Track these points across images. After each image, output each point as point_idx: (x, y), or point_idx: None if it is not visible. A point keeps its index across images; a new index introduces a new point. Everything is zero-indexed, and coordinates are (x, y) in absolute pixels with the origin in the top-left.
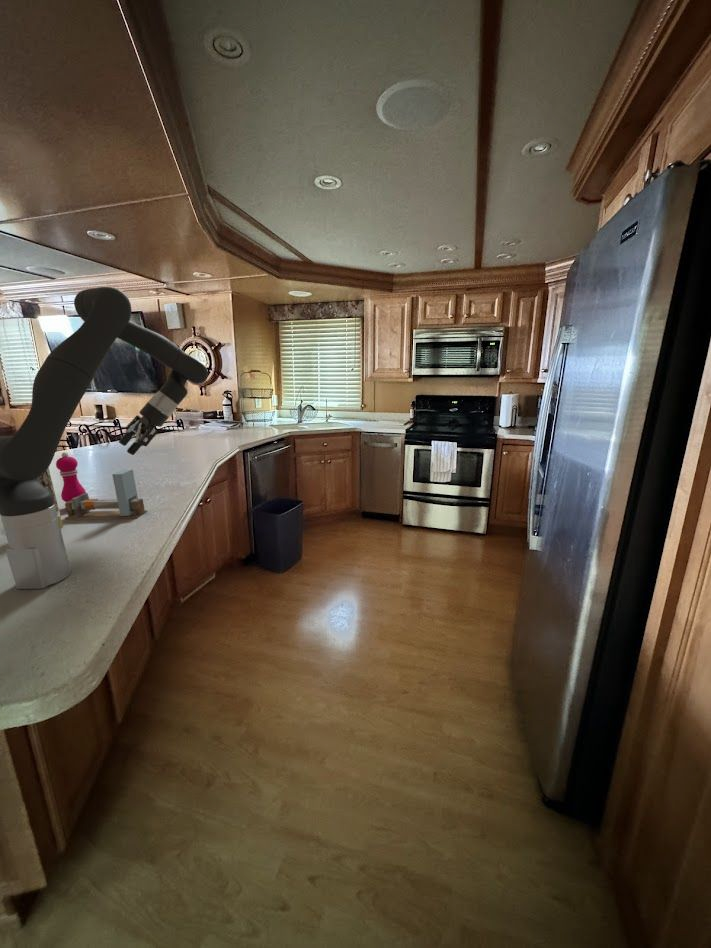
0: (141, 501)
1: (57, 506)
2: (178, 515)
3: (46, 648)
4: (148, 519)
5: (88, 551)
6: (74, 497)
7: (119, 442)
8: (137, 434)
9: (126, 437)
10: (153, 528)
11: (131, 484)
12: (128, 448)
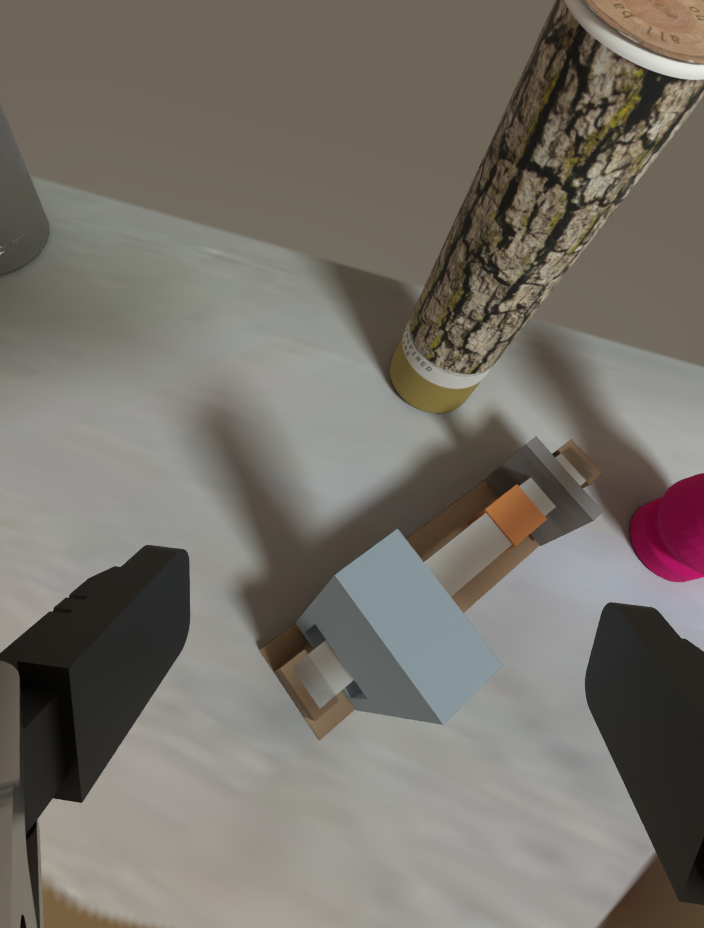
0: (302, 704)
1: (443, 354)
2: (65, 846)
3: None
4: (185, 680)
5: (66, 365)
6: (667, 509)
7: (610, 603)
8: None
9: (665, 741)
10: (23, 632)
11: (371, 674)
12: (162, 565)
